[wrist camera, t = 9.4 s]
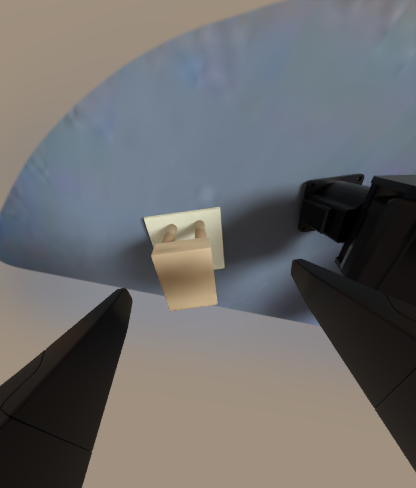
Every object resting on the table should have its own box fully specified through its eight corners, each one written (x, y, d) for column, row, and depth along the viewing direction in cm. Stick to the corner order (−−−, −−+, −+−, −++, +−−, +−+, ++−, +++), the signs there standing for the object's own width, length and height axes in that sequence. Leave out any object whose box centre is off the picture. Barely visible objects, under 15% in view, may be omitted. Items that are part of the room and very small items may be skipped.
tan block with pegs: (211, 264, 23) (217, 304, 17) (176, 269, 23) (170, 311, 17) (205, 217, 20) (210, 247, 14) (163, 223, 20) (151, 255, 14)
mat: (219, 206, 20) (220, 207, 19) (224, 266, 24) (224, 268, 24) (144, 216, 20) (143, 218, 19) (163, 274, 24) (162, 276, 24)
